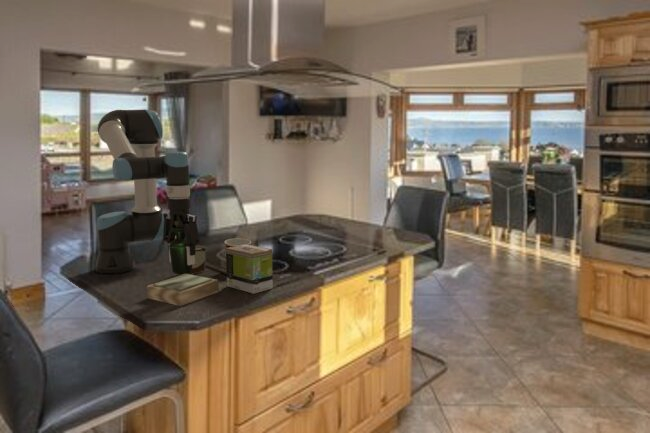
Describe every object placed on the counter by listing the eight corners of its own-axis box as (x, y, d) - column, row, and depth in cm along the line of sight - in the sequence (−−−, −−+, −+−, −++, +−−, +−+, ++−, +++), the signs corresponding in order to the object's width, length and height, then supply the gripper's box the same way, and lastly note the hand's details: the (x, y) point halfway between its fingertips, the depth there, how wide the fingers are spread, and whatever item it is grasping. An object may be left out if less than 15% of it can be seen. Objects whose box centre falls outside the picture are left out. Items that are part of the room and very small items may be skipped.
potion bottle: (179, 267, 196) (177, 218, 193) (199, 269, 193) (196, 219, 190) (165, 273, 188) (162, 221, 185) (185, 275, 185) (182, 223, 182)
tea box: (274, 288, 199) (273, 248, 197) (252, 294, 192) (251, 253, 190) (247, 280, 209) (245, 242, 207) (226, 286, 202) (224, 247, 200)
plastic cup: (232, 274, 218) (231, 244, 216) (220, 268, 227) (219, 240, 225) (256, 270, 224) (256, 241, 222) (244, 264, 233) (243, 237, 231)
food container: (198, 267, 229) (197, 244, 227) (207, 270, 225) (206, 246, 223) (173, 274, 219) (172, 249, 217) (182, 276, 215) (181, 251, 214)
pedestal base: (147, 298, 189) (146, 284, 188) (186, 285, 204) (185, 272, 203) (180, 306, 180) (179, 291, 180) (218, 291, 196) (218, 278, 195)
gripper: (149, 196, 189) (153, 261, 193) (192, 200, 178) (196, 269, 182) (165, 194, 195) (169, 256, 199) (209, 198, 184) (212, 264, 188)
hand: (182, 262), depth 190 cm, fingers closed on potion bottle, 8 cm apart
